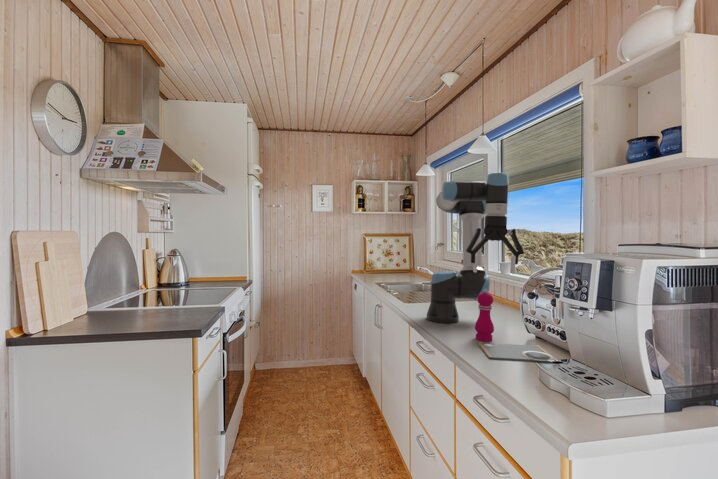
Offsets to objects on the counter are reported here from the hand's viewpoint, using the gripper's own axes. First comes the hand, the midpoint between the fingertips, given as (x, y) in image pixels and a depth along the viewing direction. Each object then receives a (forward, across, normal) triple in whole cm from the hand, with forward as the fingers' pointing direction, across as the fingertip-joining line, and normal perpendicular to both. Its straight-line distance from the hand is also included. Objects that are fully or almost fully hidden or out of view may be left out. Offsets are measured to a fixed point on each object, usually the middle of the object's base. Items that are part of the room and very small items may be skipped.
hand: (493, 272), depth 133 cm
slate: (+27, +6, -8) cm, 29 cm away
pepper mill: (+28, -1, +7) cm, 29 cm away
